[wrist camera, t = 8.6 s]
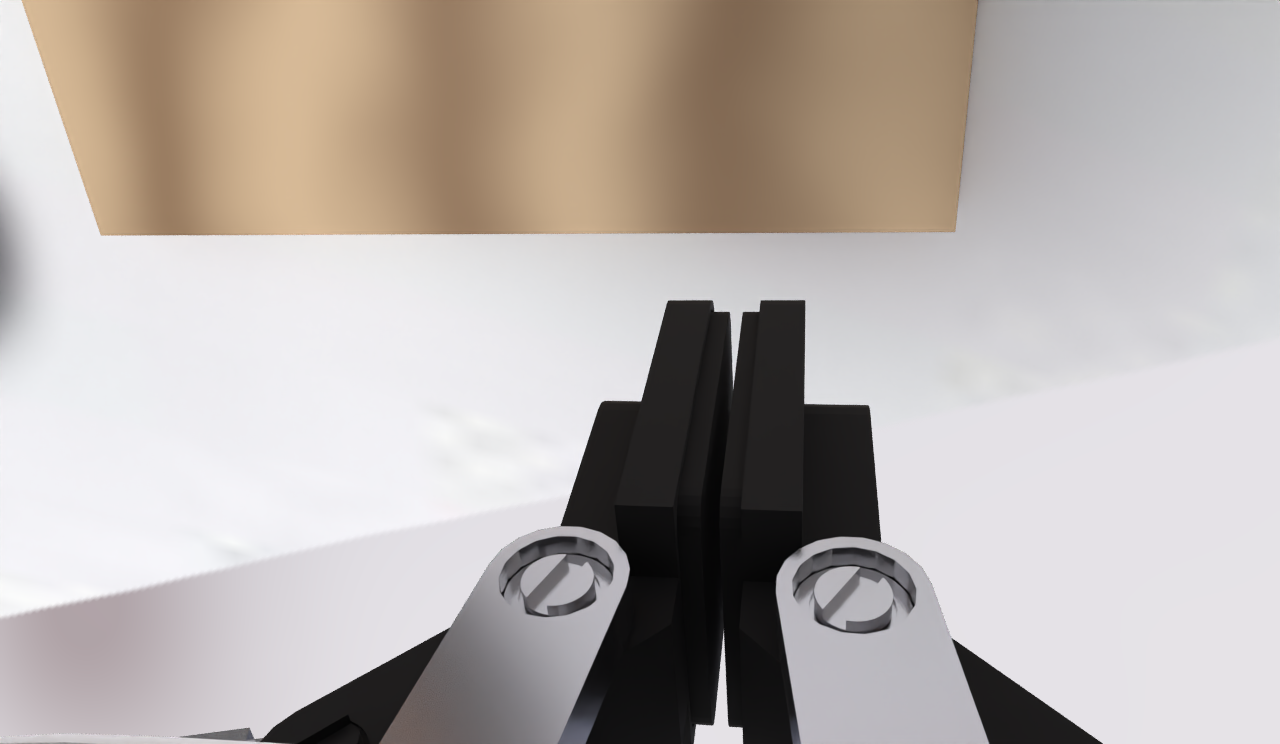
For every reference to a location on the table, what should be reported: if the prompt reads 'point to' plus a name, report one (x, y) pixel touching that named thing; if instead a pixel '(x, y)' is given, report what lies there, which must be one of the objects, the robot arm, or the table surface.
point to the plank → (512, 114)
